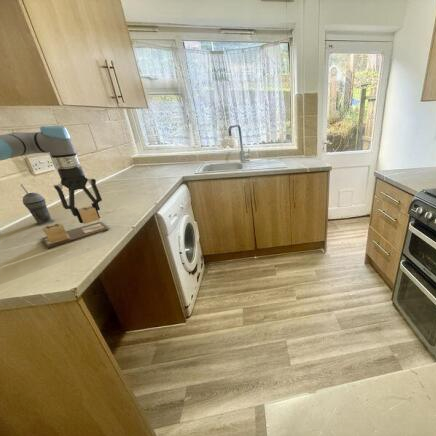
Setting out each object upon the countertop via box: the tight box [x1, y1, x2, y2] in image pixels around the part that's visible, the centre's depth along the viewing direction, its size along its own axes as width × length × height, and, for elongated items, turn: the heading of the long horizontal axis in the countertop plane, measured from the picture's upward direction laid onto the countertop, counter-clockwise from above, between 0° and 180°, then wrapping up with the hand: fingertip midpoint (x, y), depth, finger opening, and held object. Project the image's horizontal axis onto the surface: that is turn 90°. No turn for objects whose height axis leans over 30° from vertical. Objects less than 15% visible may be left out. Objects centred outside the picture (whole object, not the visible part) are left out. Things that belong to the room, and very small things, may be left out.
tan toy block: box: [41, 222, 68, 243], centre depth 99 cm, size 6×6×6 cm
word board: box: [42, 221, 109, 250], centre depth 104 cm, size 12×20×1 cm, turn 141°
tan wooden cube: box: [77, 205, 100, 225], centre depth 106 cm, size 6×6×6 cm
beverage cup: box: [20, 183, 52, 225], centre depth 112 cm, size 7×7×20 cm
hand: (89, 219), depth 107 cm, fingers closed on tan wooden cube, 5 cm apart
